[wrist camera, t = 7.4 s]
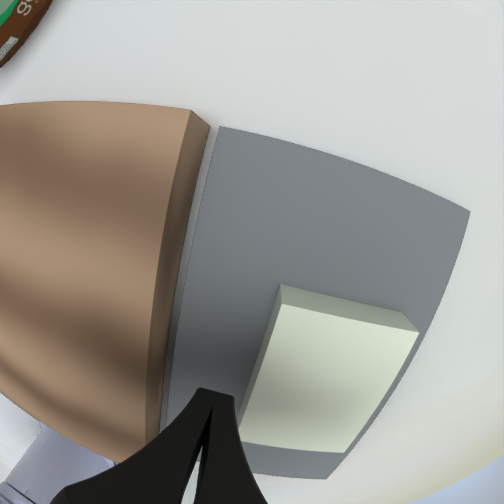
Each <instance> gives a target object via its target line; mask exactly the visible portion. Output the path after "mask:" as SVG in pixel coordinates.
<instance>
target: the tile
mask: <svg viewBox="0 0 504 504" xmlns="http://www.w3.org/2000/svg"><path fill="white" fill-rule="evenodd" d="M418 334H419V331H418V330H417V329H416V328H415V327H414V326H413V324H412V323H411V322H410V321H409V320H408V319H407V318H406V316H405V315H404V314H403V313H402V312H398V311H394V310H389V309H385V308H380V307H376V306H371V305H367V304H363V303H358V302H354V301H350V300H345V299H341V298H337V297H332V296H328V295H324V294H320V293H316V292H312V291H307V290H303V289H299V288H295V287H291V286H287V285H283V284H280V287H279V290H278V293H277V297H276V300H275V303H274V307H273V310H272V313H271V316H270V320H269V323H268V326H267V329H266V332H265V335H264V339H263V342H262V345H261V348H260V351H259V354H258V357H257V360H256V363H255V366H254V369H253V372H252V375H251V378H250V381H249V384H248V387H247V390H246V393H245V396H244V399H243V402H242V405H241V407H240V410H239V413H238V419H237V426H238V431H239V435H240V439H241V441H244V442H249V443H255V444H260V445H267V446H273V447H280V448H288V449H297V450H307V451H320V452H338V453H344V452H345V451H346V449H347V448H348V447H349V445H350V444H351V443H352V442H353V440H354V439H355V438H356V436H357V435H358V434H359V432H360V431H361V430H362V428H363V427H364V425H365V424H366V423H367V421H368V420H369V418H370V417H371V415H372V414H373V412H374V411H375V409H376V408H377V406H378V405H379V403H380V402H381V400H382V399H383V397H384V396H385V394H386V392H387V391H388V389H389V387H390V386H391V384H392V382H393V381H394V379H395V377H396V376H397V374H398V372H399V370H400V369H401V367H402V365H403V363H404V362H405V360H406V358H407V356H408V354H409V352H410V350H411V348H412V346H413V344H414V342H415V340H416V338H417V336H418Z"/></svg>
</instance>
